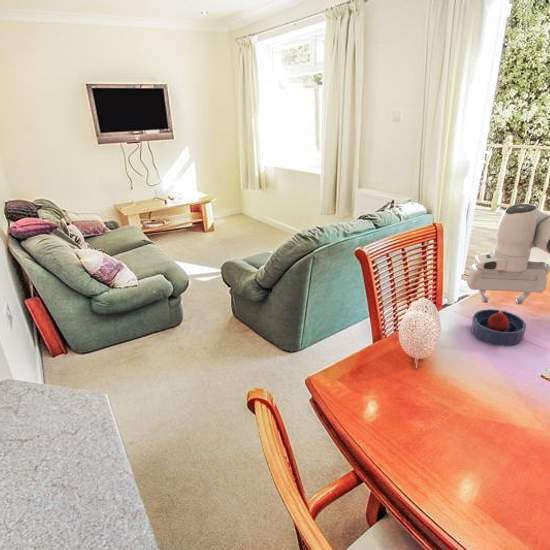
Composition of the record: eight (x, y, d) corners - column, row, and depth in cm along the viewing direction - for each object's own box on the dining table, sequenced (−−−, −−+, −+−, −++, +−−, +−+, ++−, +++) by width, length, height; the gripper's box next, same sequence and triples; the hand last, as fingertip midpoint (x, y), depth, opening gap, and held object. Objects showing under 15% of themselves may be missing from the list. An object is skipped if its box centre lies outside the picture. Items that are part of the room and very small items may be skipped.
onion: (504, 340, 115) (508, 317, 111) (483, 334, 118) (487, 312, 115) (509, 331, 118) (513, 309, 115) (489, 326, 122) (493, 304, 119)
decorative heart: (430, 381, 101) (436, 327, 94) (390, 370, 106) (393, 318, 99) (440, 345, 115) (446, 296, 108) (405, 337, 120) (408, 290, 113)
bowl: (514, 323, 123) (517, 310, 121) (529, 349, 110) (532, 334, 108) (467, 321, 126) (469, 308, 124) (476, 345, 114) (478, 331, 112)
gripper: (547, 257, 108) (536, 299, 114) (469, 255, 114) (463, 295, 119) (556, 266, 103) (544, 310, 108) (474, 263, 108) (467, 305, 114)
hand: (501, 302), depth 114 cm, fingers open, 8 cm apart
